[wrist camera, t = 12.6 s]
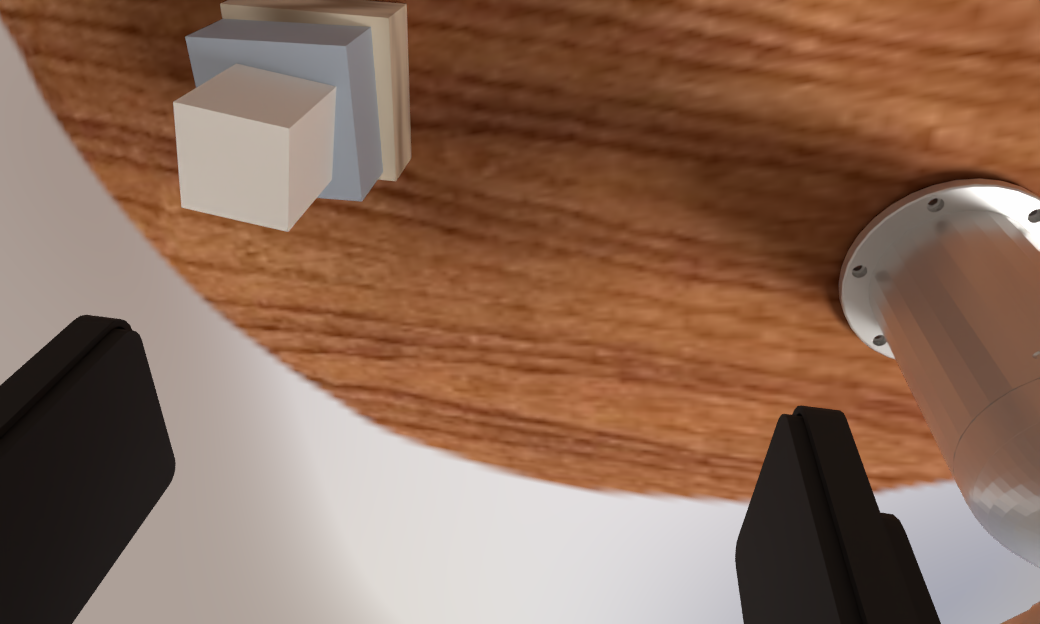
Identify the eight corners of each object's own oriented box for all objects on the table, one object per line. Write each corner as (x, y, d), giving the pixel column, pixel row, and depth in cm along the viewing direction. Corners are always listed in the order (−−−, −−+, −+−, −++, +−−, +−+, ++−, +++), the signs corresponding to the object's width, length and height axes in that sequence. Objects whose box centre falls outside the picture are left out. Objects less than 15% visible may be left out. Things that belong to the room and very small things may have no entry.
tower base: (408, 2, 41) (388, 18, 38) (413, 155, 46) (396, 181, 43) (252, -11, 42) (219, 3, 38) (273, 141, 47) (246, 166, 43)
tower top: (371, 26, 38) (345, 46, 35) (383, 172, 43) (362, 201, 39) (223, 18, 39) (185, 36, 36) (250, 161, 43) (218, 189, 40)
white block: (336, 86, 36) (289, 128, 31) (332, 179, 39) (288, 231, 34) (236, 63, 36) (173, 101, 31) (239, 158, 39) (181, 207, 34)
